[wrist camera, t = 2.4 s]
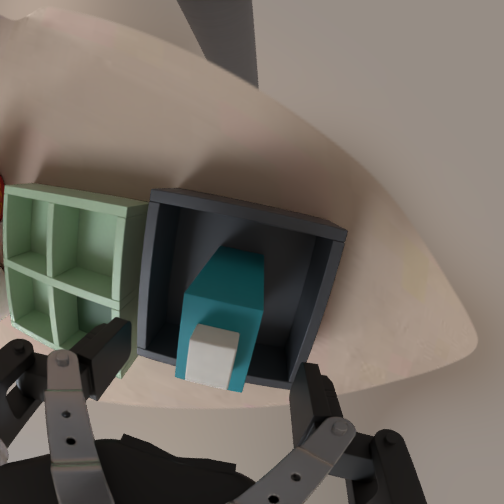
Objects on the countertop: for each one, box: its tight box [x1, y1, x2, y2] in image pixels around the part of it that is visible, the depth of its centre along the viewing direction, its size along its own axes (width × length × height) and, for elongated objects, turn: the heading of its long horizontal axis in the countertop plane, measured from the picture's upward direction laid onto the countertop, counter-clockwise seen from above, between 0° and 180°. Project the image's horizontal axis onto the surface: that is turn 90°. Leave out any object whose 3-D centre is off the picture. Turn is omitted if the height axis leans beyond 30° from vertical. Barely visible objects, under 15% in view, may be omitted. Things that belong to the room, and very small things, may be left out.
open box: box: [137, 188, 348, 390], centre depth 21 cm, size 13×13×6 cm
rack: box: [3, 183, 149, 379], centre depth 22 cm, size 15×15×5 cm
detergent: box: [175, 246, 264, 392], centre depth 17 cm, size 5×4×12 cm
